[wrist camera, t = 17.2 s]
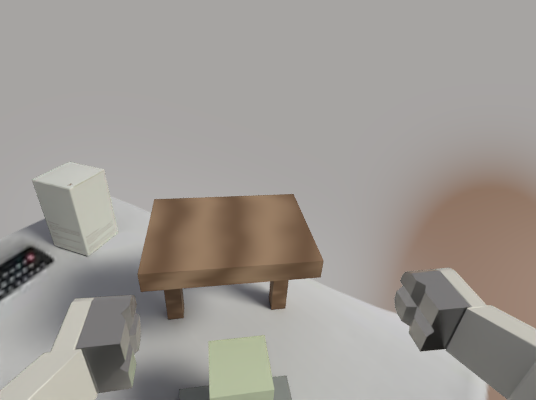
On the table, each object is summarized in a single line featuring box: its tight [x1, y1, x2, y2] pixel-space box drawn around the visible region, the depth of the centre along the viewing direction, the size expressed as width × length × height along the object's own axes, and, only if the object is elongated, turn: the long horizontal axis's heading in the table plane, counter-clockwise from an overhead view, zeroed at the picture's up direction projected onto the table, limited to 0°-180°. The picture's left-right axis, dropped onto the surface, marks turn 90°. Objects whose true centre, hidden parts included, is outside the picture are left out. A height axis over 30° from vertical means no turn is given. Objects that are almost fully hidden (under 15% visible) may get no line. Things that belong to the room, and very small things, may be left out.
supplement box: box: [32, 162, 118, 256], centre depth 56 cm, size 7×7×13 cm
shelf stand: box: [138, 194, 323, 319], centre depth 39 cm, size 16×12×18 cm
